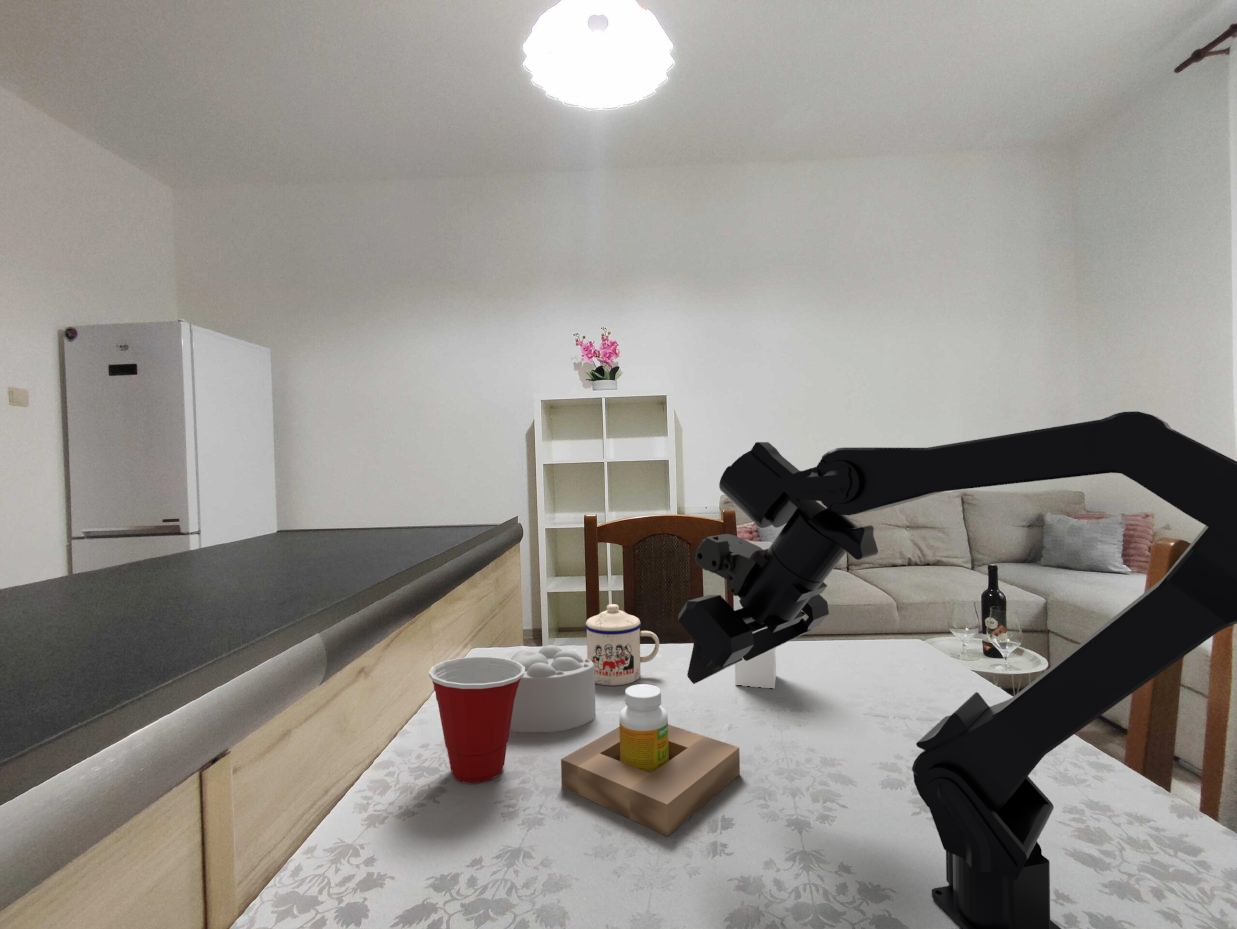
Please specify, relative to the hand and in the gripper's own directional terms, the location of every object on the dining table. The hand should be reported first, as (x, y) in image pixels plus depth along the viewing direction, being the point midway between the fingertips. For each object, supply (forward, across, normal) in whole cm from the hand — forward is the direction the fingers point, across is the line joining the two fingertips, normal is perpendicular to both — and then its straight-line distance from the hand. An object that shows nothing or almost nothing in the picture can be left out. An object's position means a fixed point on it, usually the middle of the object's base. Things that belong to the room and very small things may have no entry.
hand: (718, 667), depth 64 cm
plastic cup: (+24, +15, -10) cm, 30 cm away
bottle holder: (+15, +4, +2) cm, 16 cm away
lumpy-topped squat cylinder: (+28, +1, -15) cm, 32 cm away
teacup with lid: (+30, -17, -17) cm, 38 cm away
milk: (+20, -30, -4) cm, 36 cm away
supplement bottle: (+15, +4, +2) cm, 16 cm away
